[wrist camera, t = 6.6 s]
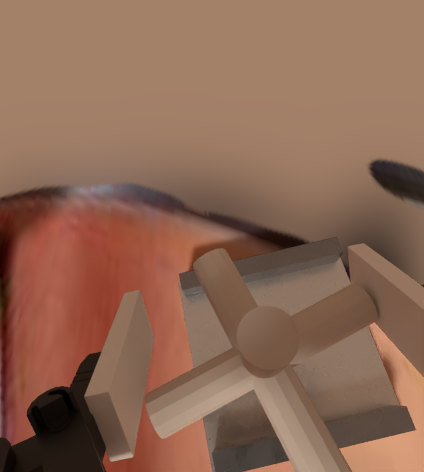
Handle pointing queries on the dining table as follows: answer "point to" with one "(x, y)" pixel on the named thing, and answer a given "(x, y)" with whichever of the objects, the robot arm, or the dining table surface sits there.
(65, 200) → the dining table surface
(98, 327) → the dining table surface
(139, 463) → the dining table surface
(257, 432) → the cradle plate
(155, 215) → the dining table surface
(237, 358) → the pipe connector
